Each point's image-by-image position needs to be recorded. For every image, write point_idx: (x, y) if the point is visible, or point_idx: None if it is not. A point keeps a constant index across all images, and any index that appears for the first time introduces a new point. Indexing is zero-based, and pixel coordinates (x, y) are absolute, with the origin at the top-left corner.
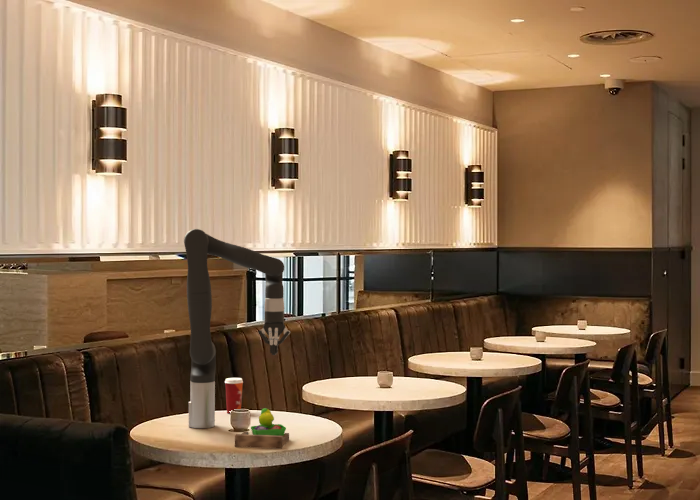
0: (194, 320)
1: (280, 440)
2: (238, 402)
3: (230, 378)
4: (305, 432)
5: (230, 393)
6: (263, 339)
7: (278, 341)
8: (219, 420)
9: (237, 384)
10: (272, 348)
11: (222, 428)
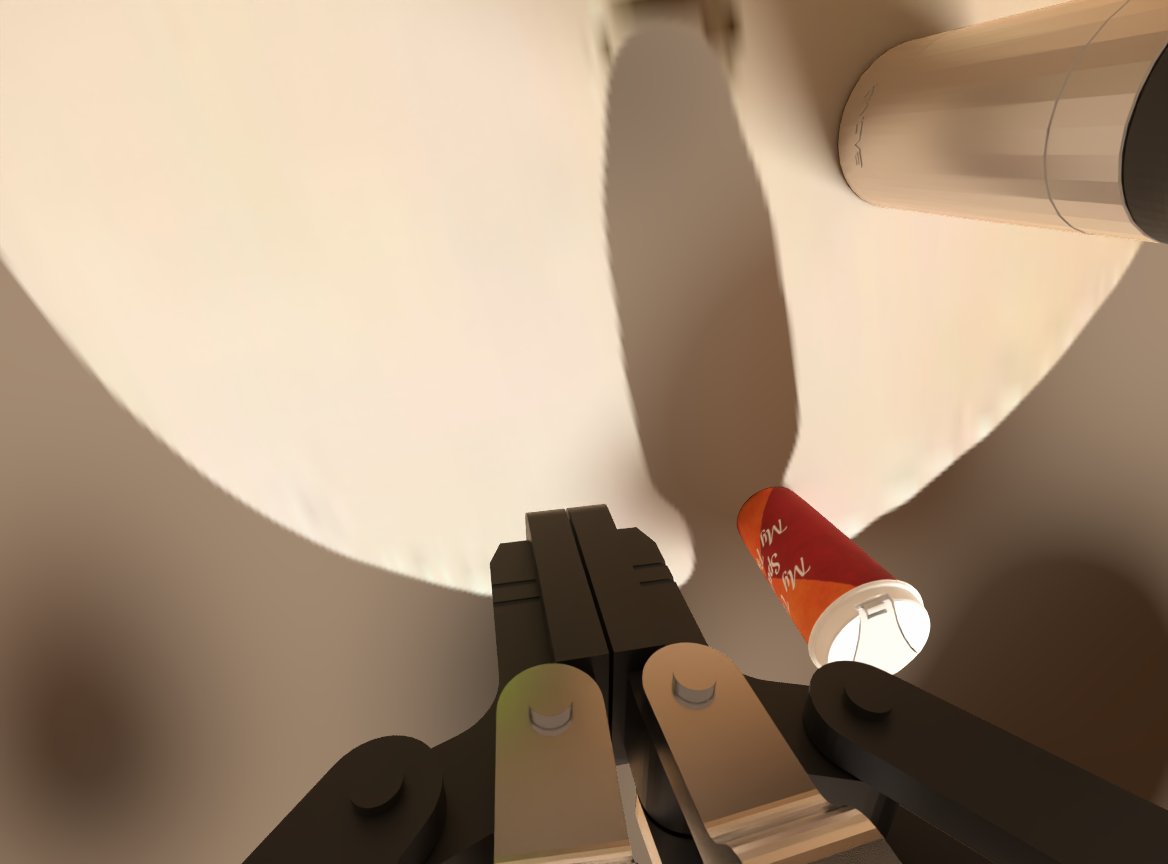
0: None
1: None
2: (772, 534)
3: (900, 651)
4: (151, 22)
5: (844, 544)
6: (1038, 752)
7: (465, 831)
8: (821, 322)
9: (837, 594)
10: (619, 590)
11: (783, 79)
